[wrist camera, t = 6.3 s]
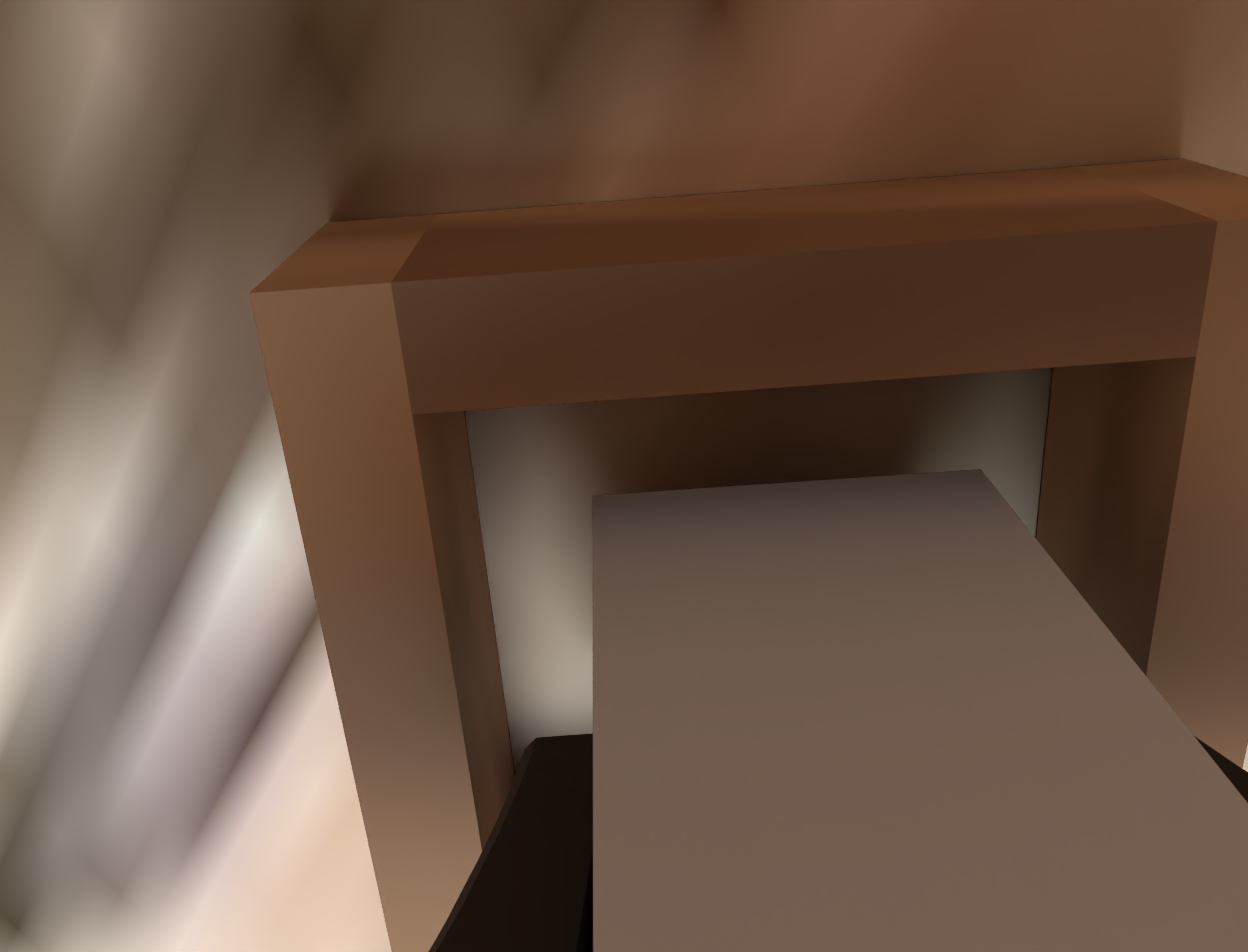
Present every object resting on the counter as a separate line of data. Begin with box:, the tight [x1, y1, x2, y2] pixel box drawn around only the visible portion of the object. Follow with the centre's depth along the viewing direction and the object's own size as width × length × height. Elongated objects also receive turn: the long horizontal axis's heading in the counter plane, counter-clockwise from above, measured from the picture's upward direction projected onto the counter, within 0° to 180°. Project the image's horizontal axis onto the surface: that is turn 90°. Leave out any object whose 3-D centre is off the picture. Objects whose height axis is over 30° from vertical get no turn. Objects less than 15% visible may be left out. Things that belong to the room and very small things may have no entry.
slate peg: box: [593, 469, 1248, 952], centre depth 8 cm, size 4×4×8 cm
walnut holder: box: [249, 159, 1248, 952], centre depth 12 cm, size 9×9×3 cm
